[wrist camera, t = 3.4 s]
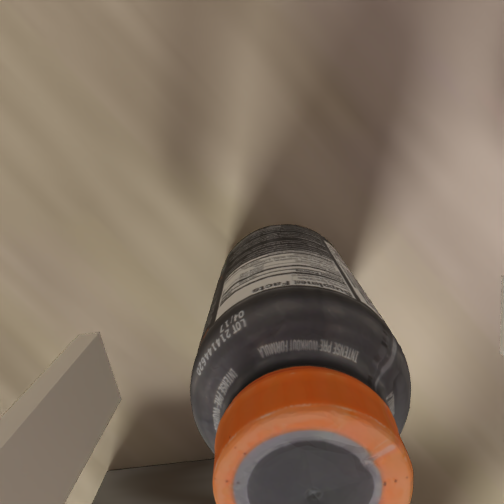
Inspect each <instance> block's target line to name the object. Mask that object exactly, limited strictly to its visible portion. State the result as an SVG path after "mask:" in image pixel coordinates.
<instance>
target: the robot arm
mask: <svg viewBox="0 0 504 504" xmlns="http://www.w3.org/2000/svg"><path fill="white" fill-rule="evenodd" d="M500 353H501V354H502V355H503V356H504V276H502V290H501V328H500ZM120 401H121V396H120V393H119V390H118V387H117V384H116V381H115V378H114V375H113V372H112V369H111V366H110V363H109V360H108V357H107V353H106V350H105V347H104V344H103V341H102V338H101V335H100V332H96V333H89V334H82V335H78V336H77V337H76V338H75V339H74V340H73V341H72V342H71V343H70V344H69V345H68V346H67V347H66V349H65V350H64V351H63V352H62V353H61V354H60V355H59V356H58V357H57V358H56V359H55V360H54V361H53V362H52V363H51V365H50V366H49V367H48V368H47V369H46V370H45V371H44V372H43V373H42V374H41V375H40V376H39V377H38V378H37V380H36V381H35V382H34V383H33V384H32V385H31V386H30V387H29V388H28V389H27V390H26V391H25V392H24V393H23V394H22V396H21V397H20V398H19V399H18V400H17V401H16V402H15V403H14V404H13V405H12V406H11V407H10V408H9V409H8V410H7V412H6V413H5V414H4V415H3V416H2V417H1V418H0V504H64V503H65V501H66V499H67V498H68V496H69V494H70V492H71V490H72V488H73V487H74V485H75V483H76V481H77V479H78V477H79V476H80V474H81V472H82V470H83V468H84V467H85V465H86V463H87V461H88V459H89V457H90V456H91V454H92V452H93V450H94V448H95V446H96V445H97V443H98V441H99V439H100V437H101V436H102V434H103V432H104V430H105V428H106V426H107V425H108V423H109V421H110V419H111V417H112V415H113V414H114V412H115V410H116V408H117V406H118V404H119V403H120Z"/></svg>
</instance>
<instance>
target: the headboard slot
mask: <svg viewBox="0 0 504 504" xmlns="http://www.w3.org/2000/svg"><path fill="white" fill-rule="evenodd" d="M213 469H214V459H210V460H201V461H192V462H183V463H174V464H166V465H157V466H148V467H139V468H130V469H121V470H112V471H107V473H106V475H105V477H104V479H103V481H102V483H101V486H100V488H99V490H98V492H97V494H96V496H95V498H94V500H93V503H92V504H216V502H215V498H214V494H213Z"/></svg>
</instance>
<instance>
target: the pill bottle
mask: <svg viewBox="0 0 504 504" xmlns="http://www.w3.org/2000/svg"><path fill="white" fill-rule="evenodd" d="M190 396H191V405H192V411H193V415H194V419H195V422H196V425H197V428H198V430H199V432H200V434H201V436H202V437H203V439H204V441H205V442H206V444H207V445H208V447H209V448H210V449H211V451H212V452H213V453H214V454H215V459H214V469H213V494H214V498H215V502H216V504H410V501H411V497H412V492H413V468H412V464H411V461H410V458H409V456H408V453H407V451H406V449H405V446H404V444H403V442H402V440H401V438H400V434H401V431H402V429H403V427H404V425H405V422H406V419H407V416H408V412H409V408H410V397H411V382H410V373H409V369H408V365H407V362H406V359H405V356H404V354H403V352H402V349H401V347H400V345H399V344H398V342H397V340H396V339H395V337H394V336H393V334H392V333H391V331H390V329H389V328H388V326H387V324H386V323H385V321H384V320H383V318H382V317H381V315H380V314H379V313H378V311H377V310H376V308H375V307H374V305H373V304H372V302H371V301H370V299H369V298H368V297H367V295H366V293H365V292H364V290H363V289H362V287H361V286H360V285H359V283H358V282H357V280H356V279H355V277H354V276H353V274H352V273H351V271H350V270H349V268H348V267H347V265H346V264H345V262H344V261H343V260H342V258H341V256H340V255H339V253H338V252H337V251H336V249H335V248H334V247H333V246H332V245H331V244H330V242H329V241H327V240H326V239H325V238H324V237H322V236H321V235H319V234H318V233H316V232H314V231H312V230H310V229H308V228H304V227H301V226H297V225H273V226H268V227H264V228H261V229H259V230H257V231H254V232H253V233H251V234H249V235H248V236H246V237H245V238H244V239H242V240H241V241H240V242H239V243H238V244H237V245H236V246H235V247H234V248H233V250H232V251H231V252H230V254H229V255H228V257H227V260H226V262H225V264H224V266H223V269H222V272H221V275H220V278H219V280H218V284H217V287H216V290H215V294H214V297H213V301H212V304H211V307H210V311H209V314H208V317H207V321H206V324H205V328H204V331H203V335H202V338H201V341H200V345H199V348H198V353H197V356H196V359H195V362H194V366H193V370H192V376H191V385H190Z"/></svg>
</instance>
